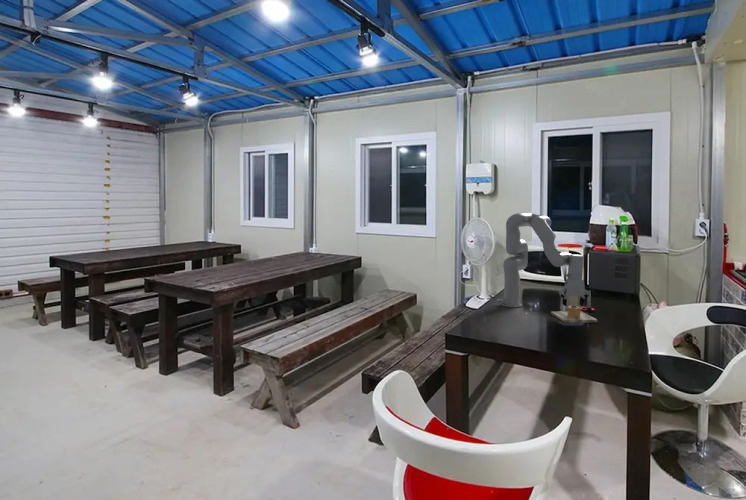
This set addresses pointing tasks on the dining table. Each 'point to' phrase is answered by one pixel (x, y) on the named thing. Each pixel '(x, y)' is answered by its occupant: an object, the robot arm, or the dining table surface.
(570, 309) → the collar
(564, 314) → the post base
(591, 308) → the tow hook
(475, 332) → the dining table surface
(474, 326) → the dining table surface
